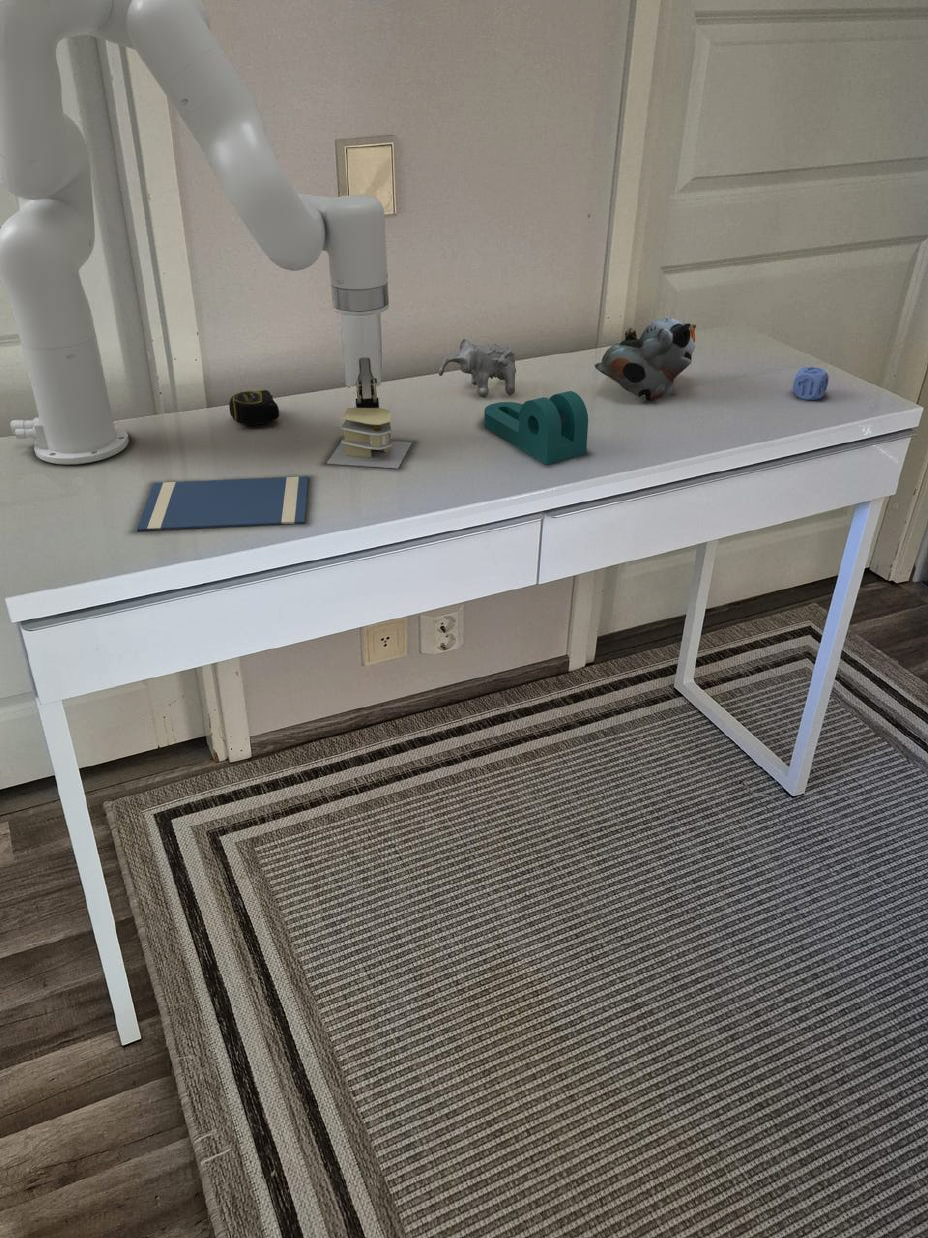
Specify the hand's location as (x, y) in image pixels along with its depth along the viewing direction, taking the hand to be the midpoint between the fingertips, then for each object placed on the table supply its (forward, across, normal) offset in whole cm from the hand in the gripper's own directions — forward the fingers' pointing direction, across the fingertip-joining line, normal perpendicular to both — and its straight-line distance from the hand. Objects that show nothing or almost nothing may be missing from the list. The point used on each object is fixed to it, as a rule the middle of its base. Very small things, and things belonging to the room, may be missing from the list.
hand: (368, 426), depth 146 cm
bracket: (+2, +2, +23) cm, 23 cm away
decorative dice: (+3, -9, +69) cm, 69 cm away
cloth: (+2, +19, -19) cm, 27 cm away
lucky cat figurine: (+2, -15, +44) cm, 47 cm away
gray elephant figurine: (+2, -17, +18) cm, 25 cm away
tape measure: (+2, -9, -16) cm, 19 cm away
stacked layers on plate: (+2, +5, 0) cm, 6 cm away
